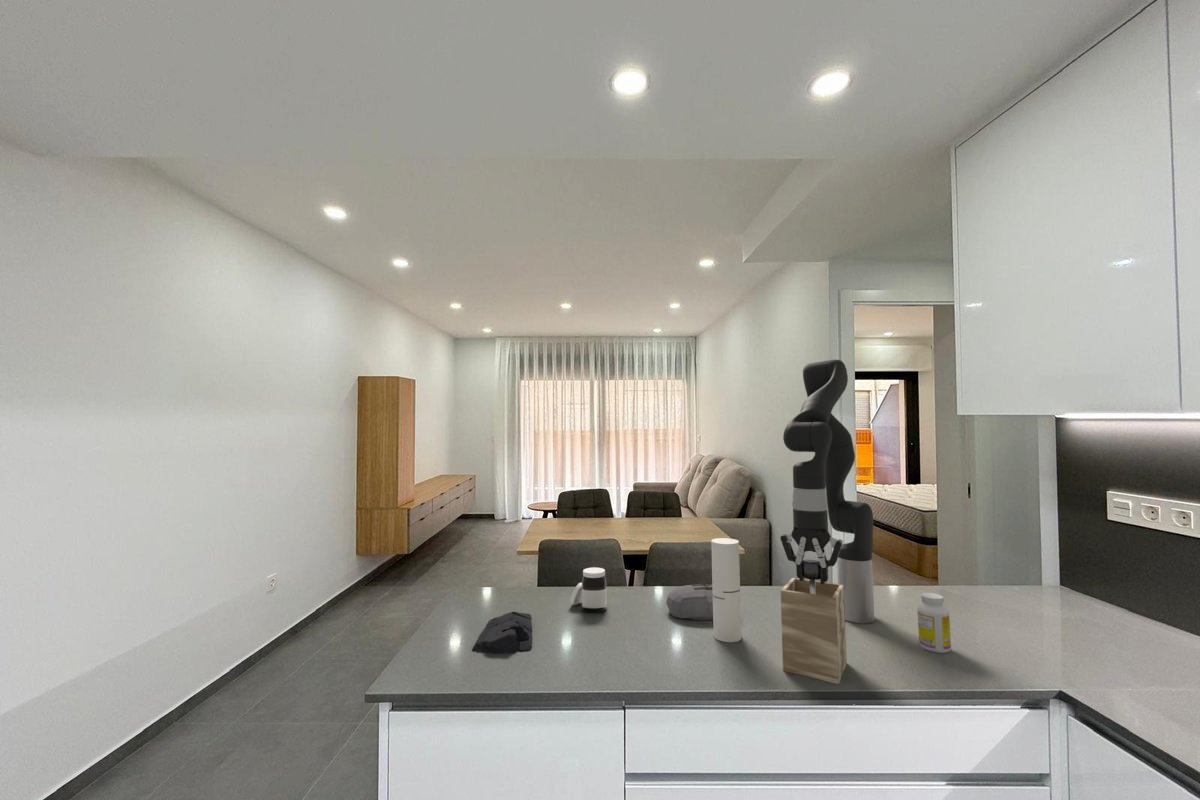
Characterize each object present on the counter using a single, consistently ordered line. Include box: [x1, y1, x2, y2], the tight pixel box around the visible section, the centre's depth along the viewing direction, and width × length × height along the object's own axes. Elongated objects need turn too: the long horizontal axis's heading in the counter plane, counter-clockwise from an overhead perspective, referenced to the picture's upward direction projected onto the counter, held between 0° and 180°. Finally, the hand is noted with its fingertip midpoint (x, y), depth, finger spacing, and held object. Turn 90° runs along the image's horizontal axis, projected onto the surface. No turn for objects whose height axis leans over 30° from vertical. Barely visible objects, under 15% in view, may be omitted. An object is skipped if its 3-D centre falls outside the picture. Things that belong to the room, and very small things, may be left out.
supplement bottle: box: [916, 592, 952, 654], centre depth 128 cm, size 7×7×13 cm
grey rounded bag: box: [666, 583, 713, 621], centre depth 154 cm, size 15×8×20 cm
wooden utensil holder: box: [780, 577, 848, 685], centre depth 119 cm, size 12×12×18 cm
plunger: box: [803, 559, 821, 595], centre depth 119 cm, size 9×9×22 cm
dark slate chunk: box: [471, 611, 533, 654], centre depth 139 cm, size 15×22×5 cm
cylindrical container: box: [710, 537, 742, 643], centre depth 137 cm, size 7×7×25 cm
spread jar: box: [570, 566, 608, 613], centre depth 160 cm, size 12×11×12 cm
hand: (812, 581), depth 120 cm, fingers closed on plunger, 4 cm apart
